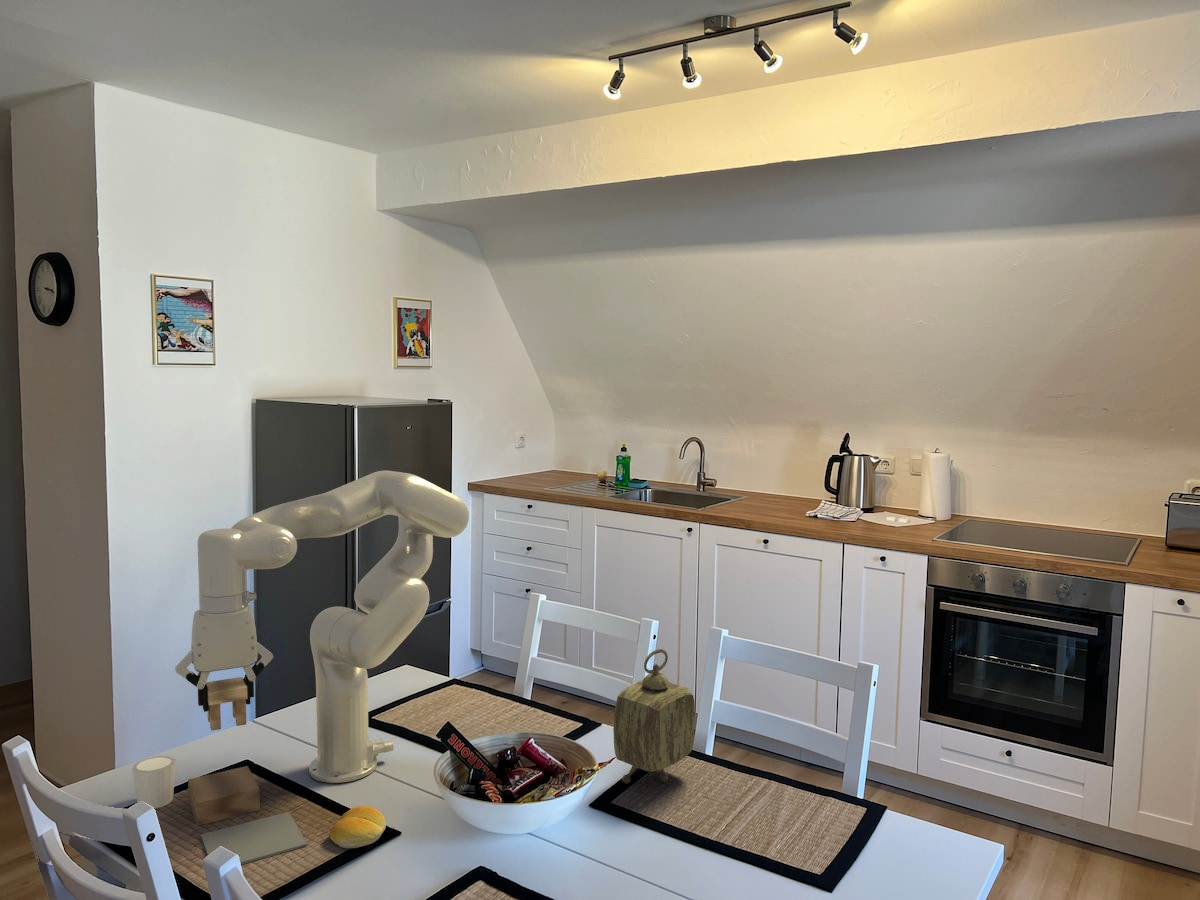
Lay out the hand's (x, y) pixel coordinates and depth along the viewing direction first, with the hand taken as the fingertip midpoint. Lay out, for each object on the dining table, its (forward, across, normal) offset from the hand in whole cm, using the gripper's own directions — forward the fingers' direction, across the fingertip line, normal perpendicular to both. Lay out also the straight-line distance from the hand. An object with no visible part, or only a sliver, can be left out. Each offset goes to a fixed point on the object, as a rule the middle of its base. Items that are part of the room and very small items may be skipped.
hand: (226, 704), depth 148 cm
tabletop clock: (+20, -72, +25) cm, 79 cm away
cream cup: (+20, +11, -11) cm, 25 cm away
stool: (+3, 0, 0) cm, 3 cm away
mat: (+20, -2, +11) cm, 23 cm away
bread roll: (+20, -18, +17) cm, 32 cm away
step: (+20, 0, -4) cm, 20 cm away
